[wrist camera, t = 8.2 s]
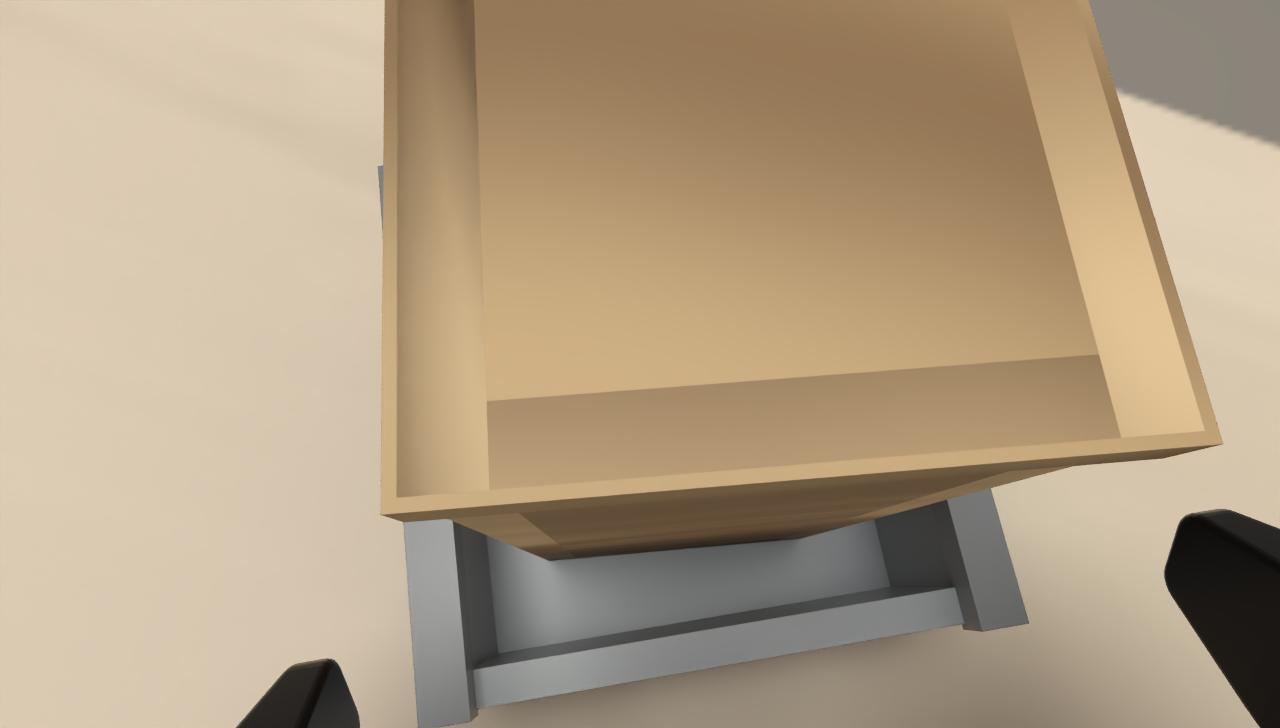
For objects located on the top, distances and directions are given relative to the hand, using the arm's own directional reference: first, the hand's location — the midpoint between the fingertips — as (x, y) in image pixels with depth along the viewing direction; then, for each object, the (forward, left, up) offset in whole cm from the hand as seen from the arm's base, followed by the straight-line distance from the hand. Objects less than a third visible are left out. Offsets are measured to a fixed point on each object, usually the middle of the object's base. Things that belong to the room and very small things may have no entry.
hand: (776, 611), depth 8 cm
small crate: (+4, -1, -9) cm, 9 cm away
